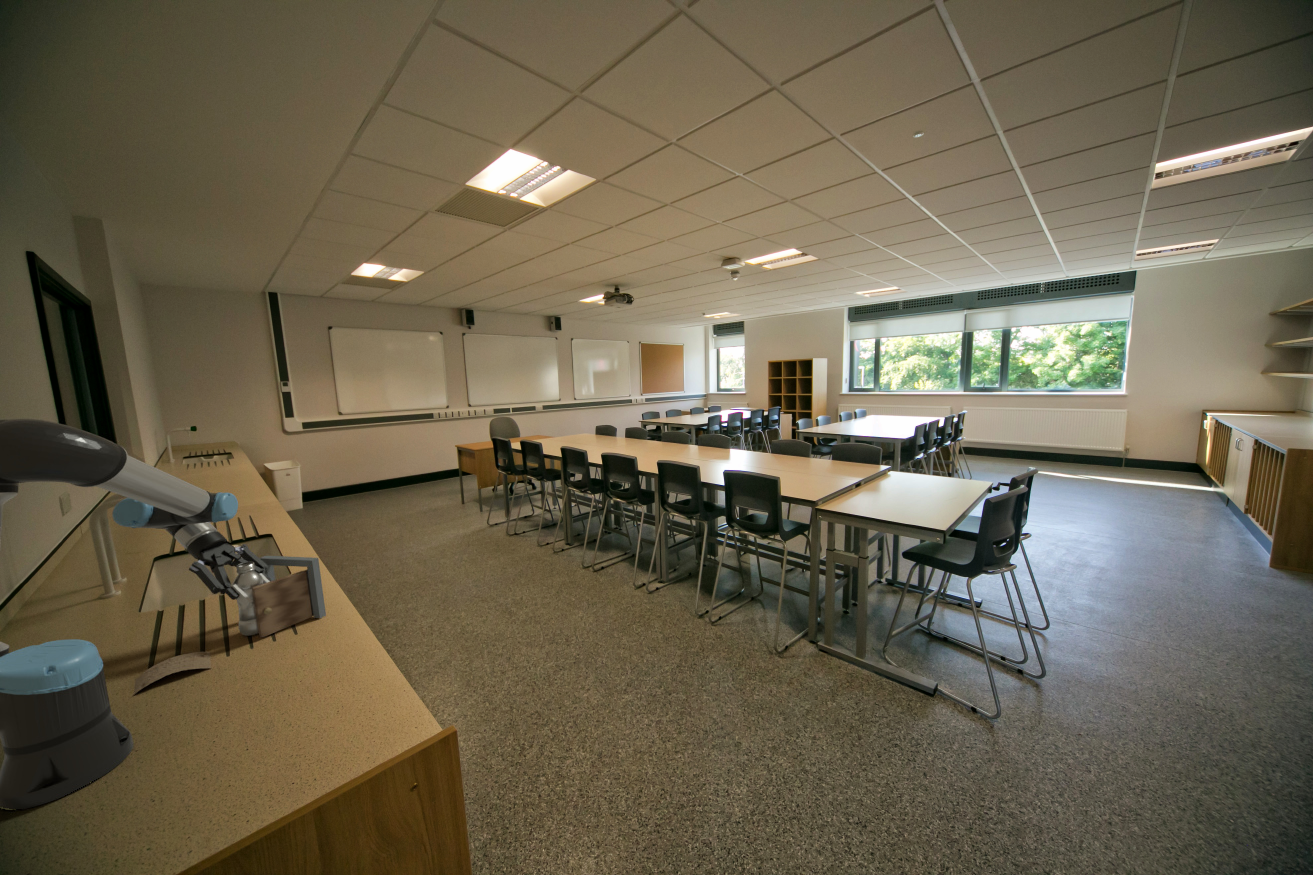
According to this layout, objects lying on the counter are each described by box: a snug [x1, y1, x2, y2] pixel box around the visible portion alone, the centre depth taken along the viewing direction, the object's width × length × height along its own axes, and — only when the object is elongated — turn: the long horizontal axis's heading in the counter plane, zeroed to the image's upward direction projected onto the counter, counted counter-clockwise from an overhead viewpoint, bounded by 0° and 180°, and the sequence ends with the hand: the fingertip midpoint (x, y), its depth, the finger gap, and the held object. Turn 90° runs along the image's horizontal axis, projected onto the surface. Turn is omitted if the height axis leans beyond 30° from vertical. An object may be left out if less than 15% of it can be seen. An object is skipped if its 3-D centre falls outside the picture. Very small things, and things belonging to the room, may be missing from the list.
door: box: [252, 569, 314, 638], centre depth 127 cm, size 13×3×14 cm, turn 151°
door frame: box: [259, 555, 327, 619], centre depth 134 cm, size 2×18×18 cm, turn 81°
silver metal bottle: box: [231, 562, 263, 637], centre depth 125 cm, size 6×7×20 cm
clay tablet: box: [132, 651, 212, 696], centre depth 109 cm, size 14×10×3 cm
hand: (261, 598), depth 125 cm, fingers closed on silver metal bottle, 6 cm apart
